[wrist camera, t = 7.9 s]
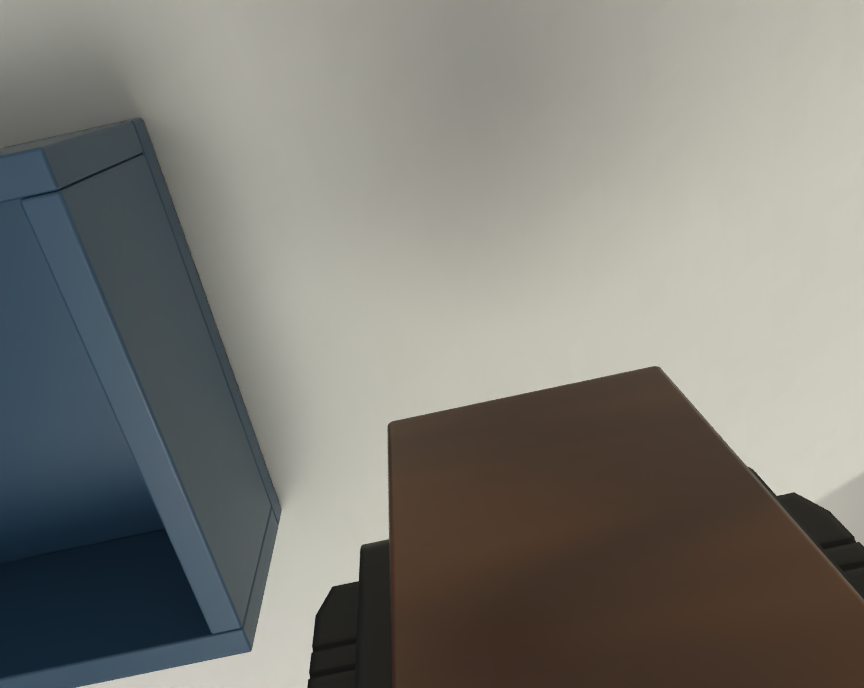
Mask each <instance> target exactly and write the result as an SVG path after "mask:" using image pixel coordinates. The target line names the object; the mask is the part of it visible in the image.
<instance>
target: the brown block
mask: <svg viewBox="0 0 864 688" xmlns="http://www.w3.org/2000/svg"><path fill="white" fill-rule="evenodd" d="M388 494H389V561H390V627H391V688H864V599H863V598H862V597H861V596H860V595H859V594H858V592H857V591H856V590H855V589H854V588H853V587H852V586H851V584H850V583H849V582H848V581H847V580H846V579H845V578H844V576H843V575H842V574H841V573H840V572H839V571H838V570H837V569H836V567H835V566H834V565H833V564H832V563H831V562H830V561H829V559H828V558H827V557H826V556H825V555H824V554H823V553H822V551H821V550H820V549H819V548H818V547H817V546H816V545H815V543H814V542H813V541H812V540H811V539H810V538H809V537H808V535H807V534H806V533H805V532H804V531H803V530H802V529H801V528H800V526H799V525H798V524H797V523H796V522H795V521H794V520H793V518H792V517H791V516H790V515H789V514H788V513H787V512H786V510H785V509H784V508H783V507H782V506H781V505H780V504H779V502H778V501H777V500H776V499H775V498H774V497H773V496H772V494H771V493H770V492H769V491H768V490H767V489H766V488H765V487H764V485H763V484H762V483H761V482H760V481H759V480H758V479H757V477H756V476H755V475H754V474H753V473H752V472H751V471H750V469H749V468H748V467H747V466H746V465H745V464H744V463H743V461H742V460H741V459H740V458H739V457H738V456H737V455H736V453H735V452H734V451H733V450H732V449H731V448H730V447H729V446H728V444H727V443H726V442H725V441H724V440H723V439H722V438H721V436H720V435H719V434H718V433H717V432H716V431H715V430H714V428H713V427H712V426H711V425H710V424H709V423H708V422H707V420H706V419H705V418H704V417H703V416H702V415H701V414H700V412H699V411H698V410H697V409H696V408H695V407H694V406H693V404H692V403H691V402H690V401H689V400H688V399H687V398H686V397H685V395H684V394H683V393H682V392H681V391H680V390H679V389H678V387H677V386H676V385H675V384H674V383H673V382H672V381H671V379H670V378H669V377H668V376H667V375H666V374H665V373H664V371H663V370H662V369H661V368H660V367H657V366H653V367H648V368H643V369H638V370H634V371H629V372H624V373H619V374H615V375H610V376H605V377H600V378H596V379H591V380H586V381H582V382H577V383H572V384H567V385H563V386H558V387H553V388H548V389H544V390H539V391H534V392H529V393H525V394H520V395H515V396H510V397H506V398H501V399H496V400H491V401H487V402H482V403H477V404H472V405H468V406H463V407H458V408H453V409H449V410H444V411H439V412H434V413H430V414H425V415H420V416H416V417H411V418H406V419H401V420H397V421H392V422H390V423H389V424H388Z"/></svg>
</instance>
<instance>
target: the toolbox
mask: <svg viewBox="0 0 864 688" xmlns="http://www.w3.org/2000/svg"><path fill="white" fill-rule="evenodd" d="M280 516H281V508H280V505H279V502H278V499H277V496H276V494H275V491H274V488H273V485H272V482H271V480H270V477H269V474H268V471H267V468H266V465H265V463H264V460H263V457H262V454H261V451H260V448H259V446H258V443H257V440H256V437H255V434H254V432H253V429H252V426H251V423H250V420H249V417H248V415H247V412H246V409H245V406H244V403H243V401H242V398H241V395H240V392H239V389H238V386H237V384H236V381H235V378H234V375H233V372H232V370H231V367H230V364H229V361H228V358H227V355H226V353H225V350H224V347H223V344H222V341H221V339H220V336H219V333H218V330H217V327H216V324H215V322H214V319H213V316H212V313H211V310H210V308H209V305H208V302H207V299H206V296H205V293H204V291H203V288H202V285H201V282H200V279H199V276H198V274H197V271H196V268H195V265H194V262H193V260H192V257H191V254H190V251H189V248H188V245H187V243H186V240H185V237H184V234H183V231H182V229H181V226H180V223H179V220H178V217H177V214H176V212H175V209H174V206H173V203H172V200H171V198H170V195H169V192H168V189H167V186H166V183H165V181H164V178H163V175H162V172H161V169H160V167H159V164H158V161H157V158H156V155H155V152H154V150H153V147H152V144H151V141H150V138H149V135H148V133H147V130H146V127H145V124H144V121H143V120H142V118H137V119H132V120H128V121H123V122H119V123H114V124H110V125H105V126H100V127H96V128H91V129H87V130H82V131H78V132H73V133H68V134H64V135H59V136H55V137H50V138H46V139H41V140H37V141H32V142H27V143H23V144H18V145H14V146H9V147H5V148H0V688H76V687H81V686H86V685H91V684H95V683H100V682H105V681H110V680H115V679H120V678H125V677H129V676H134V675H139V674H144V673H149V672H154V671H159V670H163V669H168V668H173V667H178V666H183V665H188V664H193V663H197V662H202V661H207V660H212V659H217V658H222V657H227V656H231V655H236V654H241V653H246V652H250V651H251V650H252V646H253V642H254V637H255V632H256V628H257V623H258V618H259V614H260V609H261V604H262V600H263V595H264V590H265V586H266V581H267V576H268V572H269V567H270V562H271V558H272V553H273V548H274V544H275V539H276V534H277V530H278V524H279V520H280Z"/></svg>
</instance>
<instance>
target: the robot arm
mask: <svg viewBox="0 0 864 688" xmlns="http://www.w3.org/2000/svg"><path fill="white" fill-rule="evenodd" d="M748 468H749V469H750V471H751V472H752V473H753V474H754V475H755V476H756V477H757V479H758V480H759V481H760V482H761V483H762V484H763V485H764V487H765V488H766V489H767V490H768V491H769V492H770V493H771V494H772V496H773V497H774V498H775V499H776V500H777V501H778V502H779V504H780V505H781V506H782V507H783V508H784V509H785V510H786V512H787V513H788V514H789V515H790V516H791V517H792V518H793V520H794V521H795V522H796V523H797V524H798V525H799V526H800V528H801V529H802V530H803V531H804V532H805V533H806V534H807V535H808V537H809V538H810V539H811V540H812V541H813V542H814V543H815V545H816V546H817V547H818V548H819V549H820V550H821V551H822V553H823V554H824V555H825V556H826V557H827V558H828V559H829V561H830V562H831V563H832V564H833V565H834V566H835V567H836V569H837V570H838V571H839V572H840V573H841V574H842V575H843V576H844V578H845V579H846V580H847V581H848V582H849V583H850V584H851V586H852V587H853V588H854V589H855V590H856V591H857V592H858V594H859V595H860V596H861V597H862V598H863V599H864V546H863V545H862V544H861V543H860V542H856V541H855V539H854V536H853V535H852V534H851V533H850V532H849V531H848V530H847V529H846V528H845V527H844V526H843V525H842V524H841V523H840V522H839V521H838V520H837V519H836V518H835V517H834V516H833V514H832V513H831V512H830V511H828V510H826V509H824V508H822V507H820V506H819V505H817V504H815V503H813V502H811V501H809V500H807V499H806V498H804V497H802V496H800V495H798V494H796V493H789V494H785V495H780V496H776V495H775V494H774V493H773V491H772V490H771V489H770V488H769V487H768V486H767V485H766V484H765V482H764V481H763V480H762V479H761V478H760V477H759V476H758V474H757V473H756V472H755V471H754V470H753V469H751V468H750V467H748ZM312 648H313V653H311V661H310V670H309V674H310V679H308V687H307V688H391V627H390V561H389V539H388V540H384V541H379V542H374V543H369V544H364V545H362V546H361V549H360V569H359V581H358V582H353V583H348V584H343V585H338V586H334V587H332V588H331V590H330V592H329V594H328V595H327V597H326V599H325V601H324V602H323V604H322V606H321V608H320V609H319V611H318V613H317V615H316V618H315V627H314V636H313V644H312Z"/></svg>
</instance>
